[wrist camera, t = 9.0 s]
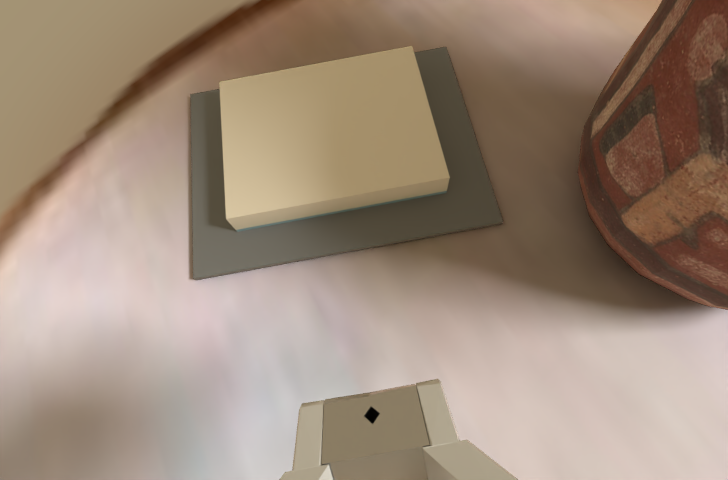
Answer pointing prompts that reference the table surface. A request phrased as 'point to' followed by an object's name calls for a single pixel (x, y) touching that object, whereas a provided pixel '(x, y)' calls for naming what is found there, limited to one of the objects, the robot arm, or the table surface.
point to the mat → (351, 228)
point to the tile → (328, 139)
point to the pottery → (666, 152)
